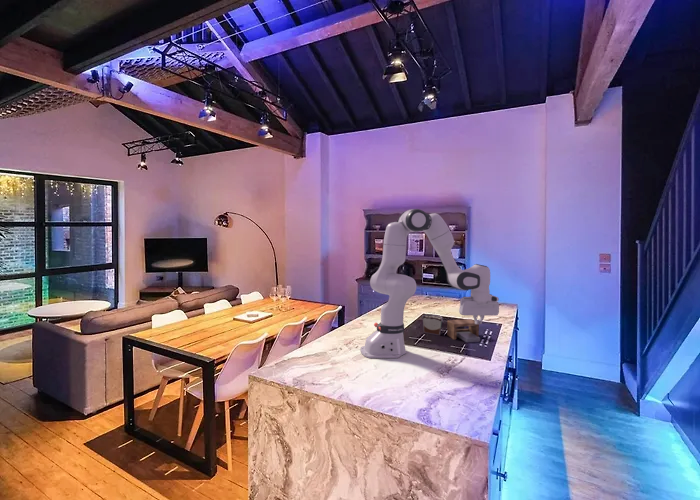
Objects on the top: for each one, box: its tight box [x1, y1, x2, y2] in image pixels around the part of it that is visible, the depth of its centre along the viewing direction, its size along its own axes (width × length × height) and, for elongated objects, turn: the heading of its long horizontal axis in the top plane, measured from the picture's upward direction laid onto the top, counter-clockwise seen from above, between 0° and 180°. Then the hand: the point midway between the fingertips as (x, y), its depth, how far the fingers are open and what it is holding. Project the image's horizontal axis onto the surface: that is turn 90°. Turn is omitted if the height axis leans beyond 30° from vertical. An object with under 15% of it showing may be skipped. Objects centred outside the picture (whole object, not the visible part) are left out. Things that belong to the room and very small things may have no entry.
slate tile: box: [456, 331, 481, 343], centre depth 201 cm, size 8×12×2 cm, turn 11°
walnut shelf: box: [446, 318, 480, 340], centre depth 204 cm, size 15×8×8 cm, turn 102°
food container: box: [421, 313, 444, 336], centre depth 211 cm, size 12×6×10 cm, turn 58°
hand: (478, 324), depth 183 cm, fingers closed
